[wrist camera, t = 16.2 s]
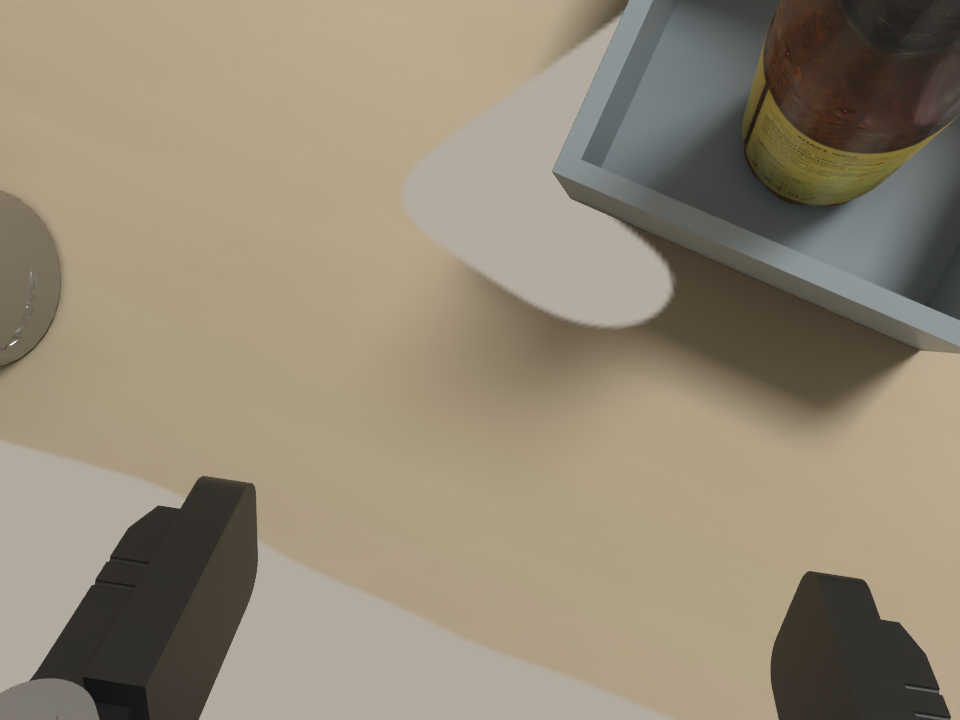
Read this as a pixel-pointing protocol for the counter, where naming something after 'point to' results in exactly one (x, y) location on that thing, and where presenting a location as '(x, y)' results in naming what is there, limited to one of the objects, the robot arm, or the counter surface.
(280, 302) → the counter surface
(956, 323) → the tote
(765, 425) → the counter surface
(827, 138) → the sauce bottle
